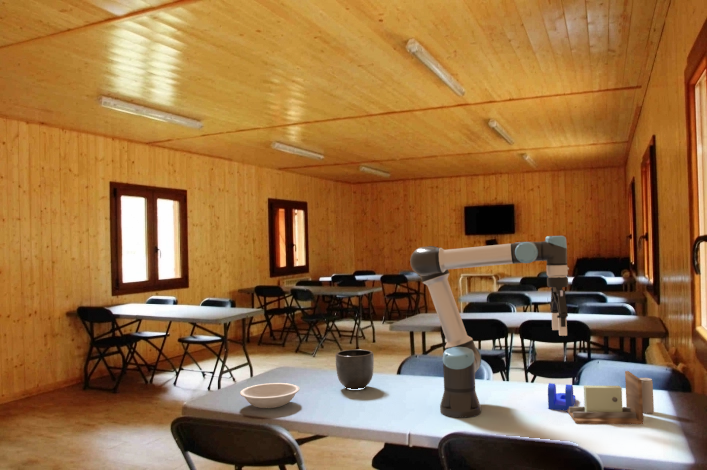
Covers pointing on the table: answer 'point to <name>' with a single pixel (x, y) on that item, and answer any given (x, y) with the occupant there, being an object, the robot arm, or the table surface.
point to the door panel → (603, 398)
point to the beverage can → (647, 395)
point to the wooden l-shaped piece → (628, 416)
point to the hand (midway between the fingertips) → (559, 332)
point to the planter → (354, 367)
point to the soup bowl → (269, 394)
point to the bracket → (560, 398)
